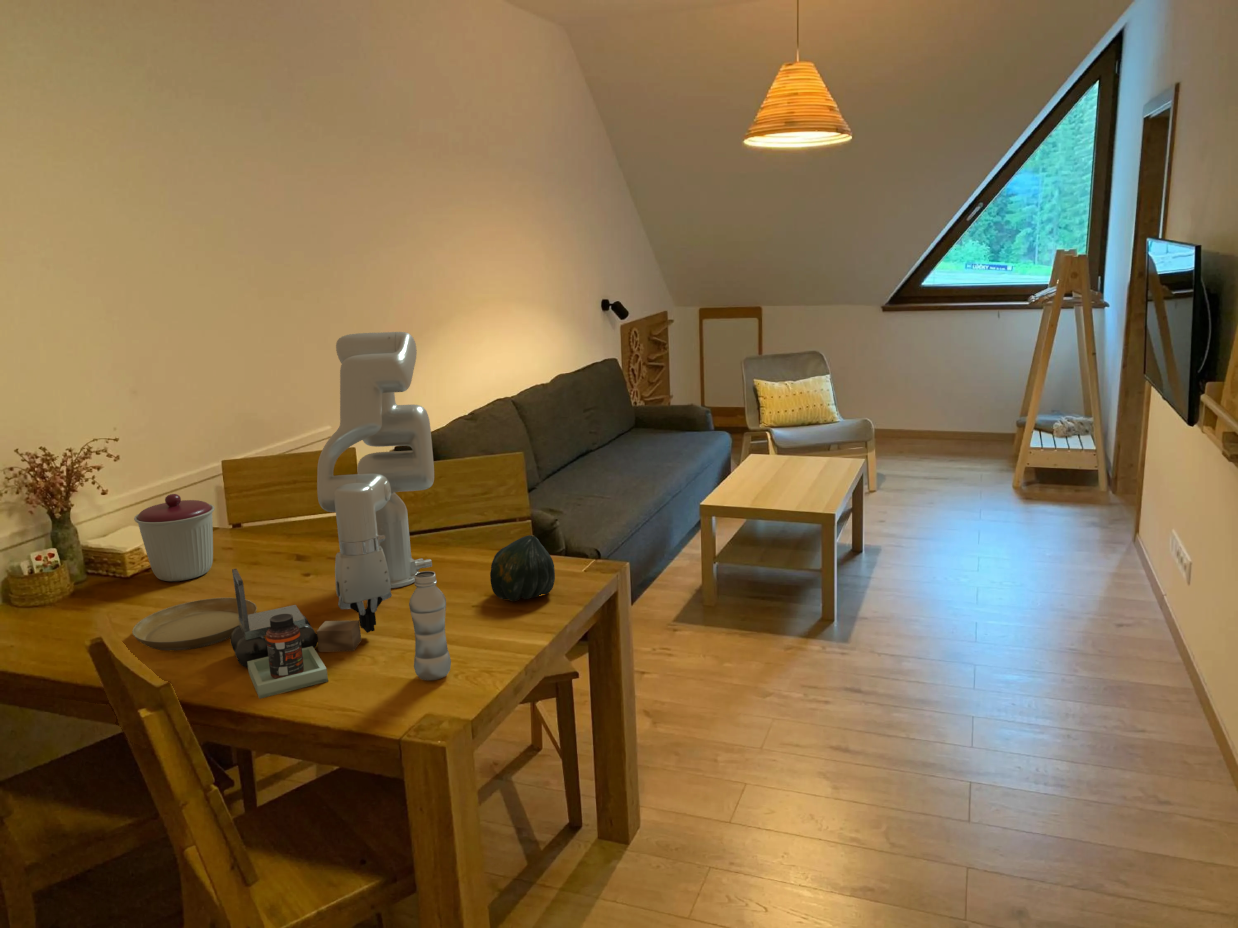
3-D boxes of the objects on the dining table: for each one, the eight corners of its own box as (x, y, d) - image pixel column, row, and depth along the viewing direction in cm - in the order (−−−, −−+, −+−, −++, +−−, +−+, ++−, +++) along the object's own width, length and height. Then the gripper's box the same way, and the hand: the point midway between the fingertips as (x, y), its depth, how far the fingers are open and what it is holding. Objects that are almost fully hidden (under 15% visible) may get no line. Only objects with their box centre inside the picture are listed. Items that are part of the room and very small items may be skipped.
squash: (468, 574, 203) (497, 533, 195) (514, 558, 215) (543, 519, 207) (503, 624, 199) (535, 584, 191) (548, 604, 211) (580, 566, 202)
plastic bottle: (417, 670, 169) (408, 569, 164) (453, 667, 169) (445, 567, 165) (412, 686, 162) (402, 581, 158) (450, 683, 163) (441, 579, 158)
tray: (314, 657, 176) (312, 645, 175) (328, 681, 166) (326, 668, 165) (248, 673, 170) (247, 661, 169) (259, 698, 160) (257, 685, 159)
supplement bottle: (291, 682, 164) (283, 624, 162) (263, 679, 166) (256, 622, 163) (311, 668, 170) (304, 612, 167) (284, 665, 171) (277, 609, 169)
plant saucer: (116, 636, 190) (113, 622, 190) (227, 602, 208) (225, 588, 207) (163, 667, 175) (160, 651, 174) (279, 627, 192) (277, 613, 191)
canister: (238, 569, 230) (227, 489, 225) (171, 592, 215) (158, 507, 210) (196, 559, 239) (184, 482, 234) (129, 580, 224) (115, 499, 220)
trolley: (309, 636, 186) (300, 556, 182) (319, 652, 178) (309, 568, 174) (232, 654, 178) (220, 571, 174) (238, 671, 171) (226, 584, 167)
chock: (361, 640, 183) (359, 620, 182) (353, 651, 178) (351, 630, 177) (327, 641, 183) (325, 621, 182) (318, 652, 179) (316, 631, 178)
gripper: (389, 532, 186) (397, 614, 191) (316, 547, 179) (326, 632, 183) (401, 542, 180) (409, 626, 185) (326, 558, 173) (337, 645, 177)
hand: (368, 629), depth 184 cm, fingers closed
